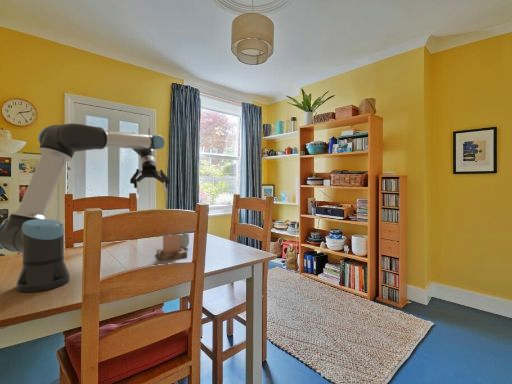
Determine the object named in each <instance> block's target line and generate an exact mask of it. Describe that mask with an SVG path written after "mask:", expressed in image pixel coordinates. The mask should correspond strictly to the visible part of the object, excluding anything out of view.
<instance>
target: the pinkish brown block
mask: <svg viewBox="0 0 512 384" xmlns="http://www.w3.org/2000/svg"><path fill="white" fill-rule="evenodd" d="M162 249H163V253H170V252H179V251H180V235H172V236H163V235H162Z"/></svg>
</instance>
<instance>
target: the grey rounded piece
mask: <svg viewBox="0 0 512 384" xmlns="http://www.w3.org/2000/svg"><path fill="white" fill-rule="evenodd" d="M189 244H190V234H189V233H186V234H183V235H180V247H182V248H183V249H184V250H185V249H187V247H189Z"/></svg>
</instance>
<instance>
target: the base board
mask: <svg viewBox="0 0 512 384" xmlns="http://www.w3.org/2000/svg"><path fill="white" fill-rule="evenodd" d="M156 256H157V257H158V260H159V261H166V260H174V259H175V260H176V259H183V258H188V252H187V251H186V250H185V249H183V248H182V247H180V251H179V252H170V253H163V248H160V249H159V248H158V249H156Z"/></svg>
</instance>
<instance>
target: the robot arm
mask: <svg viewBox="0 0 512 384" xmlns="http://www.w3.org/2000/svg"><path fill="white" fill-rule="evenodd" d="M165 141H166V140H165V138H164V137H163V136H162V135H160V134H155V135H154V134H152V135H151V134H143V133H135V132H126V131H125V132H124V131H116V130H115V131H114V130H106V129H104V128H103V127H101V126H100V127H99V126H93V125H88V124H87V125H86V124H82V123H71V122H70V123H64V124H52V125H50V126H46V127H45V128H43V129H42V130H41V131H40V133H39V134H38V142H39V148H38V152H39V153H40V157H39V160H38V162H37V165H36V167H35V169H34V171H33V173H32V176H31V179H30V181H29V183H28V186H27V187H26V190H25V193H24V194H23V198H22V200H21V202H20V204H19V206H18V209H17V210H15V211H13V212H11V213H10V214H9V216H8V219H7V221H6V222H3V223H2V224H1V225H0V247H1V248H2V249H4V250H7V251H10V252H11V253H12V252H15V253H21V254H22V268H21V271H20V273H19V275H18V279H17V281H16V291H18V292H19V293H38V292H44V291H48V290H52V289H55V288H58V287H62V286H63V285H66V284H67V283H69V282H70V280H71V278H70V275H71V274H70V271H69V269H68V267H67V265H66V263H65V260H64V259H65V256H64V255H65V254H64V251H65V246H64V243H65V242H64V238H65V237H64V234H65V231H64V224H63V222H61V221H59V220H57V219H53V218H52V219H51V218H50V219H49V218H47V217H46V213H47V211H48V208H49V206H50V204H51V201H52V198H53V196H54V194H55V191H56V189H57V186H58V183H59V181H60V179H61V176H62V173H63V170H64V168H65V166H66V163H68V162H71V161H72V159H73V157H74V154H75V153H76V152H84V151H90V150H91V151H92V150H104V149H105V148H112V149H113V148H115V149H116V148H117V149H132V150H133V151H134V152H135V153H136V154H137V155H138V156H140V159H141V160H140V161H141V169H139V168H136V171H135V172H134V174H133V175H132V176H131V178H130V180H129V183H130V184H133V188H134V189H136V194H137V195H138V194H139V191H140V188H139V182H141V181H143V180H144V179H145V178H147V179H148V178H152V179H155V180H157V181H159V182H160V183H162V187H163V194H165V195H166V193H167V189H168V185H170V182H171V179H170V178H169V177H168V176H167V175H166V174H165V173H164V171H163V169H160V170H158V169H157V164H156V158H155V150H162V149H163V148H164V147H165V143H166V142H165ZM139 195H140V194H139Z"/></svg>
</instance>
